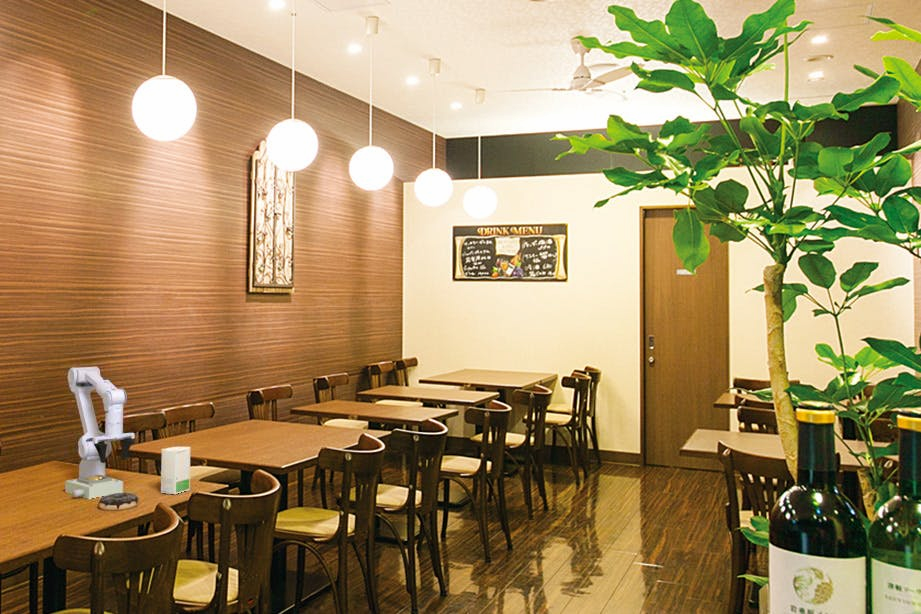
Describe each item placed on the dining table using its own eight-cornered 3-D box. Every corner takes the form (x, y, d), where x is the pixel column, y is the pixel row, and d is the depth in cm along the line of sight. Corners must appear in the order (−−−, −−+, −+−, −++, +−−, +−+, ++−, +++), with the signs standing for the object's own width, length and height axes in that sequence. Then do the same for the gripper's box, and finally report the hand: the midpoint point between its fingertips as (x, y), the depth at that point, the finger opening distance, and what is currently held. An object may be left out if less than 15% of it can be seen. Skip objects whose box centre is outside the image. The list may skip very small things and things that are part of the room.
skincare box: (174, 495, 254) (175, 450, 255) (159, 493, 257) (160, 449, 257) (190, 490, 262) (191, 446, 263) (175, 488, 265) (176, 445, 265)
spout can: (87, 493, 255) (85, 477, 256) (98, 490, 259) (96, 475, 260) (97, 492, 253) (95, 476, 253) (108, 489, 257) (106, 474, 257)
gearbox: (56, 493, 254) (56, 479, 254) (98, 486, 267) (99, 472, 267) (80, 501, 245) (80, 486, 245) (122, 492, 257) (123, 478, 257)
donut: (110, 502, 245) (110, 490, 245) (145, 503, 244) (145, 491, 244) (92, 511, 234) (92, 499, 234) (128, 512, 233) (128, 500, 233)
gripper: (99, 426, 255) (98, 465, 255) (139, 422, 267) (138, 459, 267) (89, 424, 260) (88, 462, 259) (129, 420, 271) (128, 456, 271)
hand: (113, 460), depth 263 cm, fingers open, 7 cm apart
